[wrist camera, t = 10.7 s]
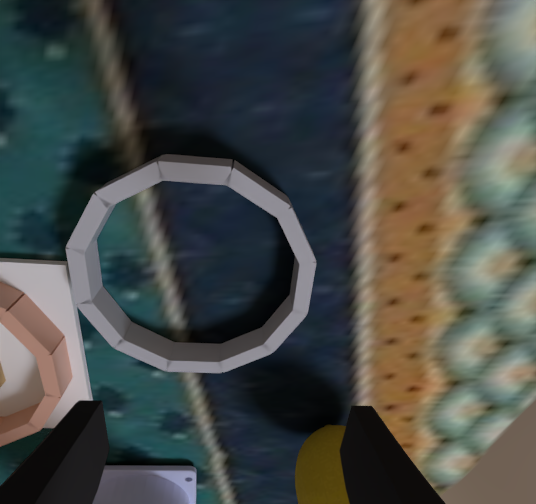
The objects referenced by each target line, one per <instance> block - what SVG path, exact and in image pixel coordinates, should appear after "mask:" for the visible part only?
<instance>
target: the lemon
mask: <svg viewBox="0 0 536 504" xmlns="http://www.w3.org/2000/svg"><path fill="white" fill-rule="evenodd" d="M345 429H346V426H341V425H326V426H324V427H323V428H320V429H318V430H317V431H315V432H313V433H312V434H311V435H310V436H309V437H308V438H307V439H306V441H305V442H304V444H303V446H302V447H301V449H300V452H299V455H298V458H297V463H296V469H295V486H296V493H297V499H298V504H350V503H349V499H348V495H347V492H346V487H345V482H344V476H343V470H342V464H341V458H340V451H339V450H340V447H341V443H342V439H343V436H344V432H345Z"/></svg>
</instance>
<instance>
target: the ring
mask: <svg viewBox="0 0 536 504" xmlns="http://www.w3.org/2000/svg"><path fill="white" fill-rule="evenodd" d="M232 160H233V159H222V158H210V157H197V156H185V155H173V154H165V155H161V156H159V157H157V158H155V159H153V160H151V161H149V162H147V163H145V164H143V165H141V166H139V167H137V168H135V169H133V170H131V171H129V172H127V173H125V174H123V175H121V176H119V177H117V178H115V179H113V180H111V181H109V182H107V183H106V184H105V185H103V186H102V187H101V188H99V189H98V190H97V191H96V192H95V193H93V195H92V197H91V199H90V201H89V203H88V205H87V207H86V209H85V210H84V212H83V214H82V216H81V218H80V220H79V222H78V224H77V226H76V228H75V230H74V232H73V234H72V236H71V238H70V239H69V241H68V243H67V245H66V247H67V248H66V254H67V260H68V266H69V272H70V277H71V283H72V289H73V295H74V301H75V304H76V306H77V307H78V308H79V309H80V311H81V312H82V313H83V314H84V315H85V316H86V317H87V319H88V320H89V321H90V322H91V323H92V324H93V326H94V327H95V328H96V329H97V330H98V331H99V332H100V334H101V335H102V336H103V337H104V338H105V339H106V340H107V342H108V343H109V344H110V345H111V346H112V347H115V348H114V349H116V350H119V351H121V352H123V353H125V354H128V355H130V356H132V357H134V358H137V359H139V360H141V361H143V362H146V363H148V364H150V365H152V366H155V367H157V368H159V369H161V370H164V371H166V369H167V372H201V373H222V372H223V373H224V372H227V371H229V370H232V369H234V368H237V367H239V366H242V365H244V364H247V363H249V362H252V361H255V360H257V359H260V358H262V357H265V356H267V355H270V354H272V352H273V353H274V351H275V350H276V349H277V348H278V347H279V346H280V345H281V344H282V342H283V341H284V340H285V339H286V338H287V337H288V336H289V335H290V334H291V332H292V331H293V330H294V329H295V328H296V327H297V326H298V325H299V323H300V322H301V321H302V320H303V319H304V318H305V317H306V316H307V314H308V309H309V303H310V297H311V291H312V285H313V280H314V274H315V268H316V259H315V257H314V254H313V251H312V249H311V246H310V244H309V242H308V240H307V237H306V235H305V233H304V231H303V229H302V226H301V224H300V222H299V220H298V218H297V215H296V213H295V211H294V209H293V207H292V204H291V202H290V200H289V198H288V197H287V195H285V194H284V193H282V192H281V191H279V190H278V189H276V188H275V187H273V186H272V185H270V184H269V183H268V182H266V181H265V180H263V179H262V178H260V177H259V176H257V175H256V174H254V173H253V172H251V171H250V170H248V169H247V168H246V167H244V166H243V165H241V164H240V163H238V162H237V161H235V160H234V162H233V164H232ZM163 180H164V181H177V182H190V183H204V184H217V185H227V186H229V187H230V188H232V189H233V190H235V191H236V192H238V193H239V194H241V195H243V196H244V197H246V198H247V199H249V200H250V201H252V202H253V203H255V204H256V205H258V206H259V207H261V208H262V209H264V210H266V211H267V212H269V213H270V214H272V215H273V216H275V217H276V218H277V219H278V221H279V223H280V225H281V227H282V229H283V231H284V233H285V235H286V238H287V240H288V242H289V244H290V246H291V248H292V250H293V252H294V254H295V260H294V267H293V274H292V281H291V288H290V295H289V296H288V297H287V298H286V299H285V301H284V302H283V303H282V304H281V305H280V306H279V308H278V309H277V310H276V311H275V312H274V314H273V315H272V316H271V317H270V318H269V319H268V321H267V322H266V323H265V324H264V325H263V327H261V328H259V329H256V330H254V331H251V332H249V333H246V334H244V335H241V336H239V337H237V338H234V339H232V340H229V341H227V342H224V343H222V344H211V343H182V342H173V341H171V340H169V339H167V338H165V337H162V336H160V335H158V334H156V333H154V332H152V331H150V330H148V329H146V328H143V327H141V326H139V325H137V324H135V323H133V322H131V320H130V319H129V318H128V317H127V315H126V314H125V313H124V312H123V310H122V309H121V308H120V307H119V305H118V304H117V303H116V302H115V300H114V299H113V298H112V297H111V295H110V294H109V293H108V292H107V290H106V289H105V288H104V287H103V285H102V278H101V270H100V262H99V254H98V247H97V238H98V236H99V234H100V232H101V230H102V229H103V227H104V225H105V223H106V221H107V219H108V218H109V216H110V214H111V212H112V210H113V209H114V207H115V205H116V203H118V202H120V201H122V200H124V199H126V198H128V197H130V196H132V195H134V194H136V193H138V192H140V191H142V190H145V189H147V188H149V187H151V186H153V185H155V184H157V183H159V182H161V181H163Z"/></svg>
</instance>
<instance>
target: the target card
mask: <svg viewBox="0 0 536 504" xmlns="http://www.w3.org/2000/svg"><path fill="white" fill-rule="evenodd" d="M0 282H2V283H4V284H7V285H9V286H11V287H13V288H15V289H18V290H20V291H22V292H24V293H23V295H24V294H27V296H28V297H29V298H30V299H31V300H32V301H33V302H34V303H35V304H36V305H37V306H38V307H39V308H40V309H41V311H42V312H43V313H44V314H45V315H46V316H47V317H48V318H49V319H50V320H51V321H52V322H53V323H54V324H55V326H56V327H57V328H58V329H59V330H60V331H61V332H62V333H63V334H64V336H65V339H66V344H67V349H68V354H69V359H70V365H71V370H72V375H73V377H72V380H71V382H70V383H69V385H68V387H67V389H66V390H65V392H64V394H63V396H62V397H61V399H60V401H59V402H58V404H57V405H56V407H55V409H54V410H53V412H52V413H51V415H50V417H49V418H48V420H47V421H46V423H45V424H44V426H43V428H55V426H56V425H57V424H58V423H59V422H60V421H61V420H62V418H63V417H64V416H65V415H66V414H67V413H68V412H69V410H70V409H71V408H72V407H73V406H74V405H75V403H77V402H78V401H79V400H88V401H93V398H92V393H91V387H90V381H89V375H88V369H87V363H86V358H85V352H84V346H83V340H82V334H81V328H80V323H79V317H78V311H77V306H76V304H75V301H74V295H73V289H72V283H71V277H70V272H69V266H68V261H50V260H31V259H13V258H0ZM0 362H1V366H2V369H3V372H4V376H5V379H6V381H5V382H4V384H3V385H2V386H1V388H0V416H2V417H6V416H9V415H11V414H13V413H16V412H18V411H21V410H23V409H26V408H28V407H30V406H33V405H35V404H38V403H40V402H41V401H42V399H43V398H44V396H45V392H44V388H43V384H42V380H41V376H40V372H39V368H38V364H37V360H36V357H35V356H34V355H33V354H32V353H31V352H30V351H29V350H28V349H27V348H26V347H25V346H24V345H23V344H22V343H21V342H20V341H19V340H18V339H17V338H16V337H15V336H14V335H13V334H12V333H11V332H10V331H9V330H8V329H7V328H6V327H5V326H4V325H3V324H1V323H0Z"/></svg>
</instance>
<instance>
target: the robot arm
mask: <svg viewBox="0 0 536 504" xmlns="http://www.w3.org/2000/svg"><path fill="white" fill-rule="evenodd" d="M339 451H340V458H341V464H342V470H343V476H344V482H345V487H346V492H347V495H348V499H349V503H350V504H445V502H444V501H443V500H442V499H441V498H440V496H439V495H438V494H437V493H436V491H435V490H434V489H433V488H432V486H431V485H430V484H429V483H428V481H427V480H426V479H425V478H424V476H423V475H422V474H421V472H420V471H419V470H418V468H417V467H416V466H415V465H414V463H413V462H412V461H411V459H410V458H409V457H408V455H407V454H406V453H405V451H404V450H403V449H402V447H401V446H400V444H399V443H398V442H397V440H396V439H395V438H394V436H393V435H392V433H391V432H390V431H389V429H388V428H387V426H386V425H385V424H384V422H383V421H382V419H381V418H380V417H379V415H378V414H377V412H376V411H375V409H374V408H373V407H372V406H352V407H351V410H350V414H349V418H348V421H347V425H346V429H345V432H344V436H343V439H342V443H341V447H340V450H339ZM108 452H109V443H108V436H107V430H106V424H105V417H104V411H103V404H102V401H88V400H79V401H78V402H77V403H75V405H74V406H73V407H72V408H71V409H70V410H69V412H68V413H67V414H66V415H65V416H64V417H63V418H62V420H61V421H60V422H59V423H58V424H57V425H56V426H55V428H54V429H53V430H52V431H51V432H50V433H49V434H48V435H47V437H46V438H45V439H44V440H43V441H42V442H41V443H40V444H39V445H38V447H37V448H36V449H35V450H34V451H33V452H32V453H31V454H30V455H29V456H28V457H27V458H26V459H25V461H24V462H23V463H22V464H21V465H20V466H19V467H18V468H17V469H16V470H15V471H14V472H13V473H12V474H11V475H10V477H9V478H8V479H7V480H6V481H5V482H4V483H3V484H2V485H1V486H0V504H196V468H195V467H193V466H142V465H105V463H106V459H107V456H108Z"/></svg>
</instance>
